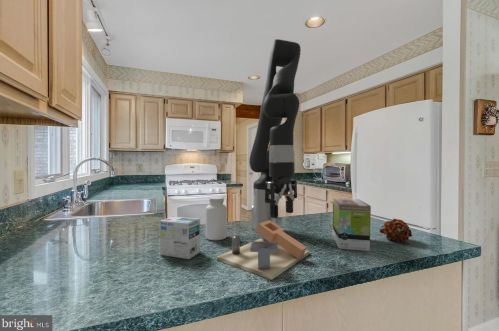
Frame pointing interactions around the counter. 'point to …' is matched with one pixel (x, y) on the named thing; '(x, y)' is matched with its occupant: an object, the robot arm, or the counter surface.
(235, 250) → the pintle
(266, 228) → the link
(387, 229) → the pine cone
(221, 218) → the pill bottle
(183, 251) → the light bulb box
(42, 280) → the counter surface
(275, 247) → the block
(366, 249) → the tea box
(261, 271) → the board
